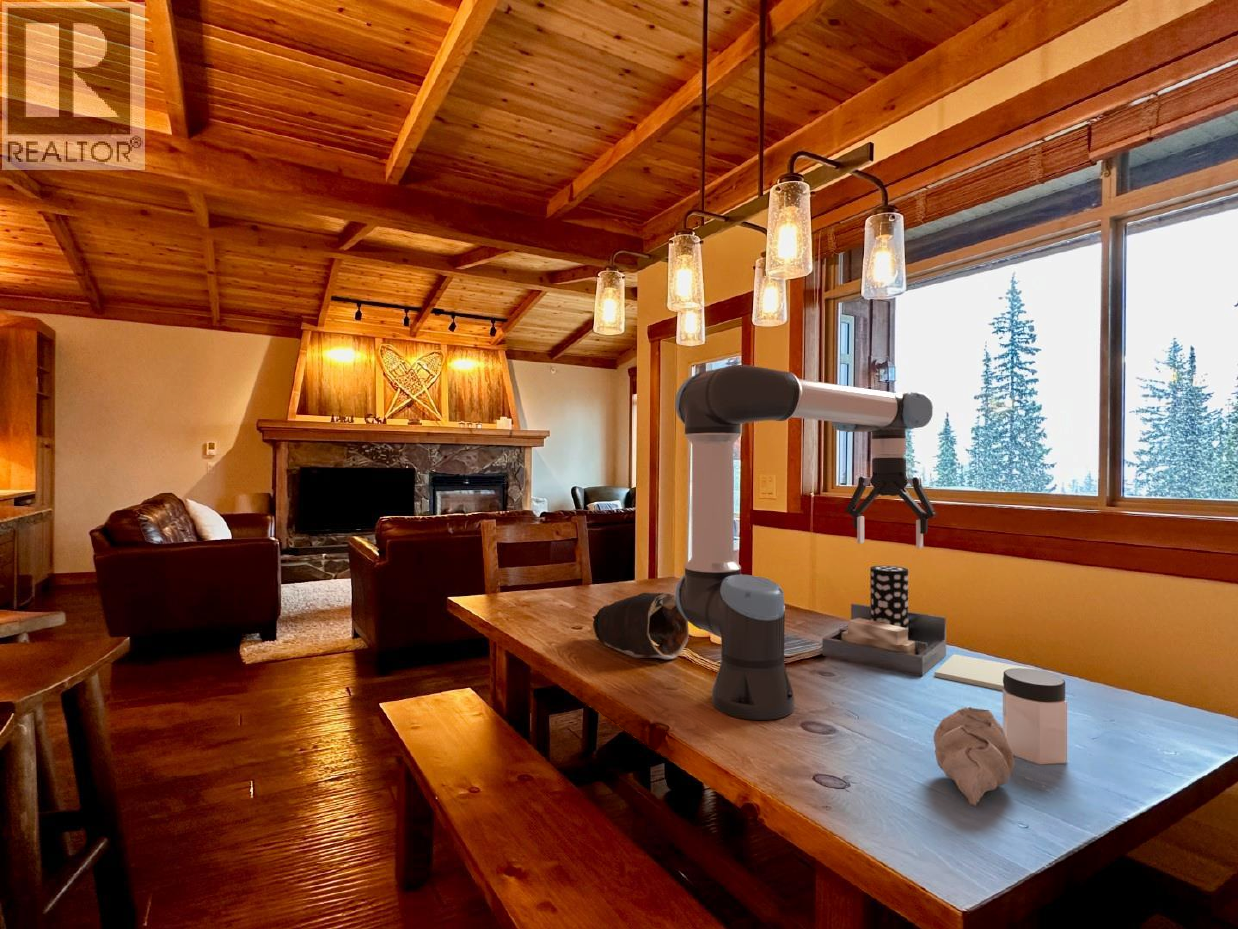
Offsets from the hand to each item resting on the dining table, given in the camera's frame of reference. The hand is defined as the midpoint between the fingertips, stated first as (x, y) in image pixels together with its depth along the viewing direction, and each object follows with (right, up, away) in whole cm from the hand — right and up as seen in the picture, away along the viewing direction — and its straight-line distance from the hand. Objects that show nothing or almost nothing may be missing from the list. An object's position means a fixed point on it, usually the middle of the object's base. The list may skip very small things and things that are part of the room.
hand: (889, 545), depth 150 cm
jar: (0, -26, -52) cm, 58 cm away
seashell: (-15, -26, -62) cm, 69 cm away
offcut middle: (-6, -23, -7) cm, 25 cm away
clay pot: (-61, -26, +3) cm, 67 cm away
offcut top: (-6, -20, -7) cm, 22 cm away
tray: (-2, -26, -3) cm, 26 cm away
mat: (+13, -26, -17) cm, 33 cm away
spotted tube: (0, -26, 0) cm, 26 cm away
